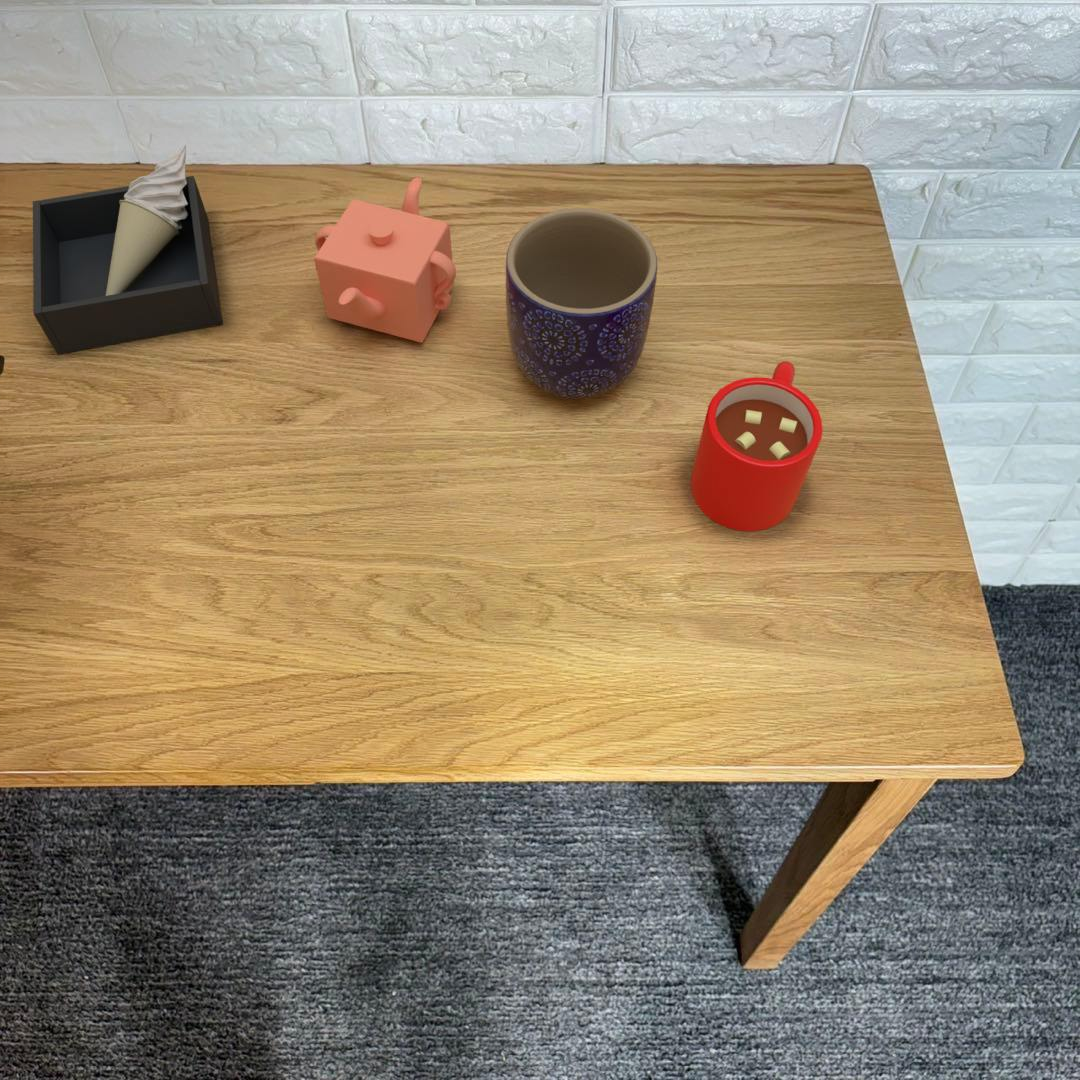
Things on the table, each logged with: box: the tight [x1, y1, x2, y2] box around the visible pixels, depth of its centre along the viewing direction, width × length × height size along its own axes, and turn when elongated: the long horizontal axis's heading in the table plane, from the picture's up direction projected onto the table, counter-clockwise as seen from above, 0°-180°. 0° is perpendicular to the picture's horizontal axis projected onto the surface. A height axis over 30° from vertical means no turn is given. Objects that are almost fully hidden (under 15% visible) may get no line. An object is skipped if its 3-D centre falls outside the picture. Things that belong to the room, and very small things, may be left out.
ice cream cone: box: [106, 144, 188, 296], centre depth 83 cm, size 5×5×15 cm
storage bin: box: [32, 175, 224, 355], centre depth 83 cm, size 13×13×5 cm
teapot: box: [313, 177, 457, 343], centre depth 80 cm, size 12×15×8 cm
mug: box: [690, 360, 824, 532], centre depth 72 cm, size 8×12×8 cm, turn 160°
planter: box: [505, 207, 658, 400], centre depth 76 cm, size 11×11×11 cm
